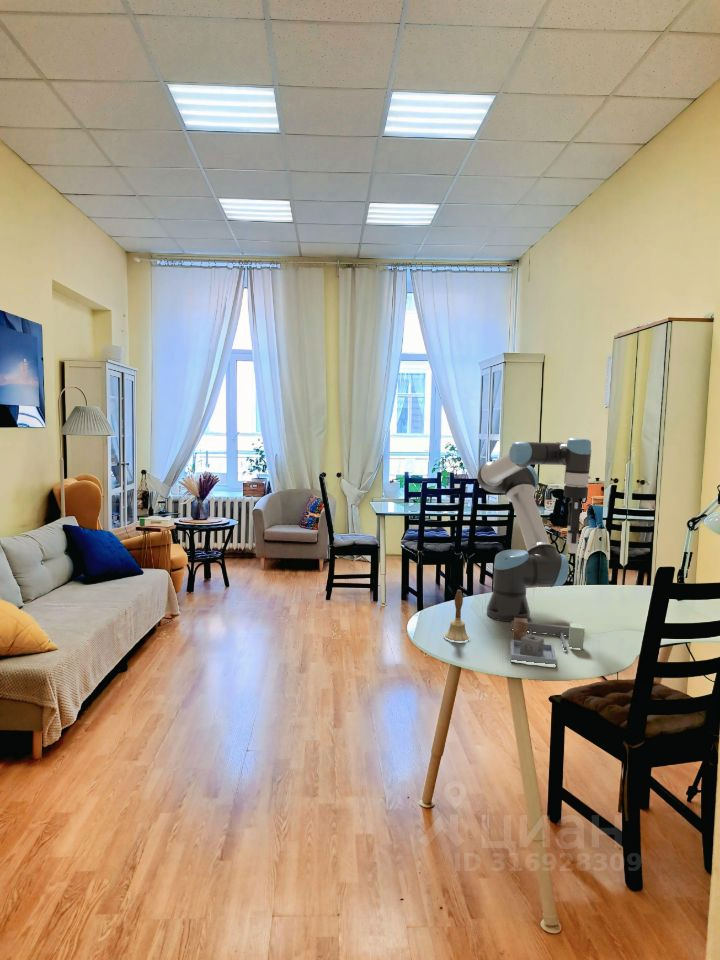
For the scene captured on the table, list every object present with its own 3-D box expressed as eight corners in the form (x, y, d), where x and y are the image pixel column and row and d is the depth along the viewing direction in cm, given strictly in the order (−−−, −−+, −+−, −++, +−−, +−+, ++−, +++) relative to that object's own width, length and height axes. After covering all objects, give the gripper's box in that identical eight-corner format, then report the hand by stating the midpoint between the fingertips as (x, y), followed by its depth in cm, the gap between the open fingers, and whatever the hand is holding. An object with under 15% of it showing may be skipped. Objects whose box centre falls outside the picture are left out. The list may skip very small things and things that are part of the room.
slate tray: (510, 662, 183) (511, 654, 183) (510, 647, 195) (511, 639, 195) (556, 668, 180) (556, 659, 180) (552, 652, 193) (553, 644, 192)
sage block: (569, 649, 196) (570, 627, 195) (568, 644, 200) (569, 623, 199) (582, 650, 195) (584, 628, 194) (581, 646, 199) (582, 624, 198)
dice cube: (520, 654, 187) (521, 638, 187) (527, 649, 191) (528, 633, 191) (535, 658, 184) (536, 642, 184) (543, 654, 188) (544, 638, 188)
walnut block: (513, 642, 200) (514, 621, 199) (512, 638, 204) (514, 617, 203) (526, 644, 199) (527, 622, 198) (525, 640, 203) (527, 618, 202)
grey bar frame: (511, 645, 197) (512, 636, 197) (511, 629, 212) (511, 620, 212) (585, 654, 192) (586, 644, 192) (579, 636, 208) (580, 627, 207)
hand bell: (472, 643, 198) (475, 593, 196) (446, 643, 197) (449, 593, 196) (466, 634, 206) (468, 586, 204) (441, 634, 205) (443, 586, 204)
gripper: (591, 490, 195) (586, 557, 197) (585, 482, 219) (580, 542, 221) (565, 488, 197) (561, 555, 199) (562, 481, 221) (558, 540, 223)
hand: (571, 548), depth 210 cm, fingers open, 13 cm apart
